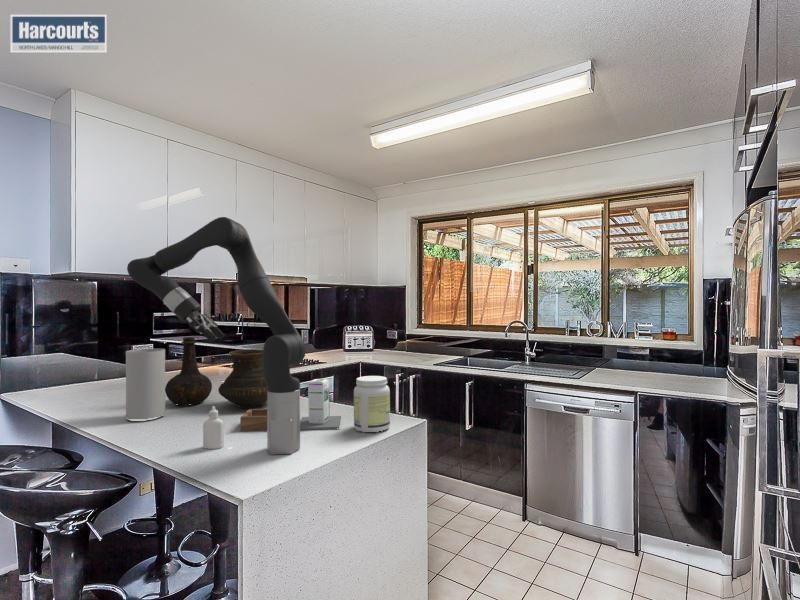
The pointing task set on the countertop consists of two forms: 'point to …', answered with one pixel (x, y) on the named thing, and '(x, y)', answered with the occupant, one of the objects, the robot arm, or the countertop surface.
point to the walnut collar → (254, 420)
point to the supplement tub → (371, 404)
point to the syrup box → (318, 401)
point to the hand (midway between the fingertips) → (218, 338)
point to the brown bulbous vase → (188, 379)
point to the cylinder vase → (145, 383)
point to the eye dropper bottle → (213, 431)
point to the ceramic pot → (246, 379)
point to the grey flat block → (330, 424)
